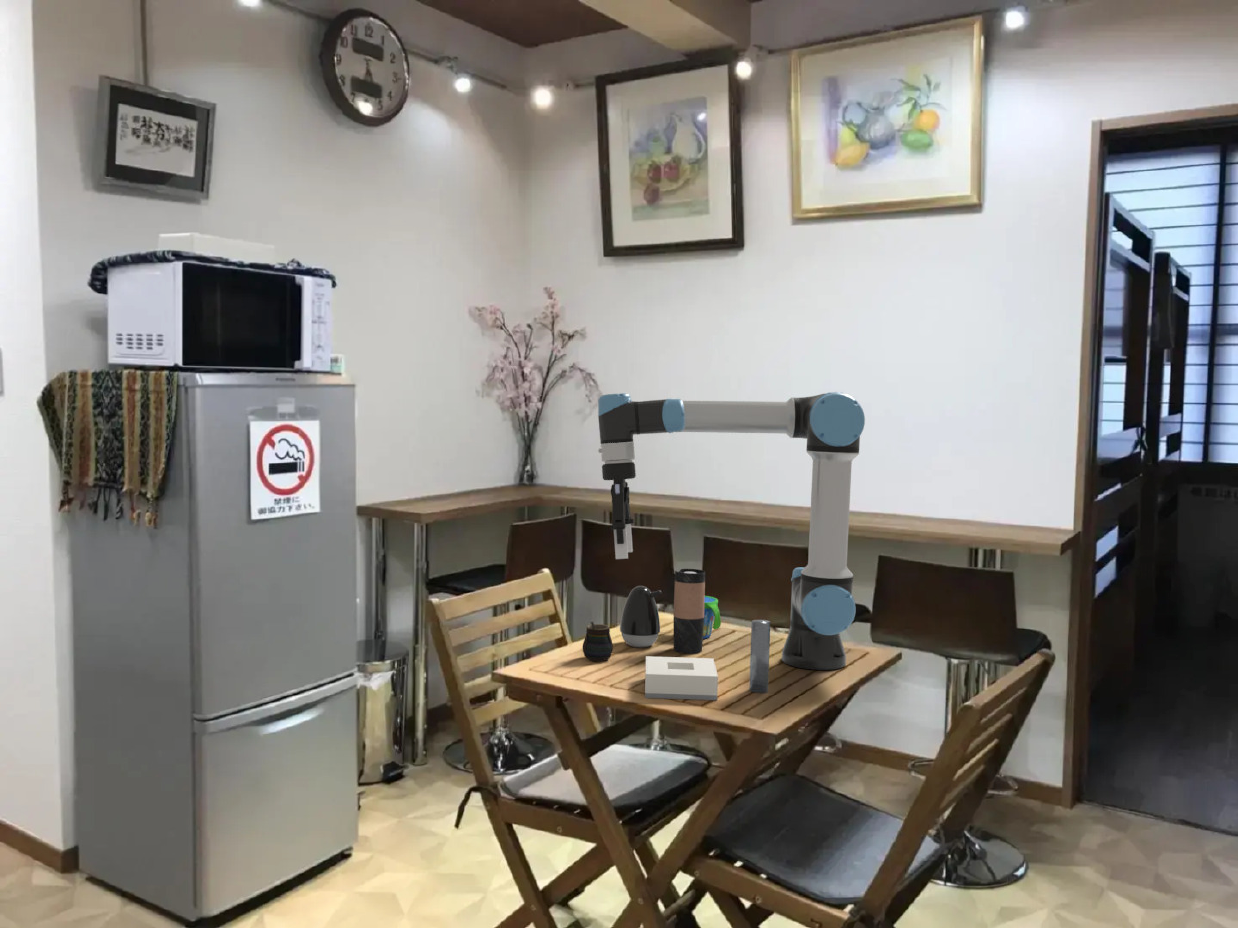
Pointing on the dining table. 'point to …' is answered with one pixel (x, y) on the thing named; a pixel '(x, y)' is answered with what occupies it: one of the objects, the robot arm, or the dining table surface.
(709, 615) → the snack cup
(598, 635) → the mate gourd
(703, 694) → the hole block
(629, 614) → the pump dispenser
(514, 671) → the dining table surface
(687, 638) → the travel mug
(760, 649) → the pin
